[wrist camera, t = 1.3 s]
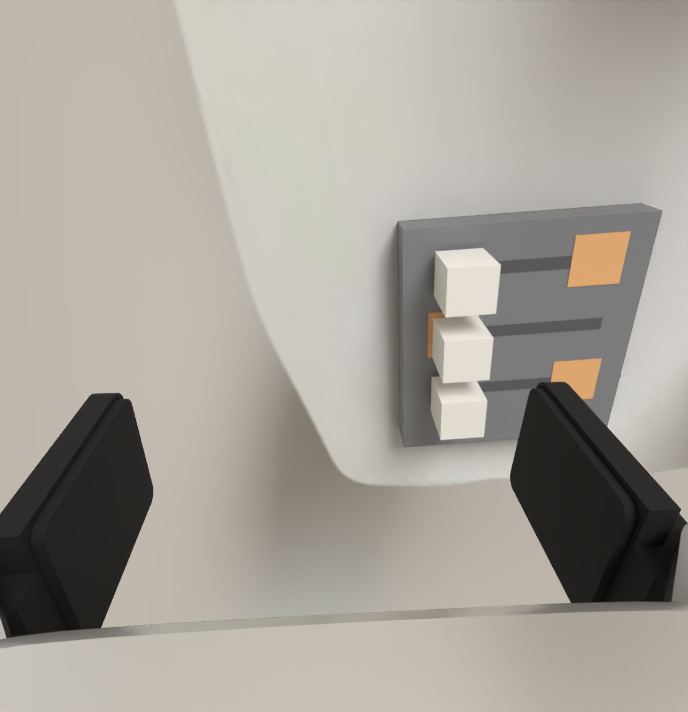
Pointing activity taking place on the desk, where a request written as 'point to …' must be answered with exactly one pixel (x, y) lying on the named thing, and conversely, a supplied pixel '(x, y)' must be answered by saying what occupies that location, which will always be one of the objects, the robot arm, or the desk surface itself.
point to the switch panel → (528, 307)
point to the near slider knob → (466, 282)
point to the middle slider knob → (462, 349)
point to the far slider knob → (458, 409)
